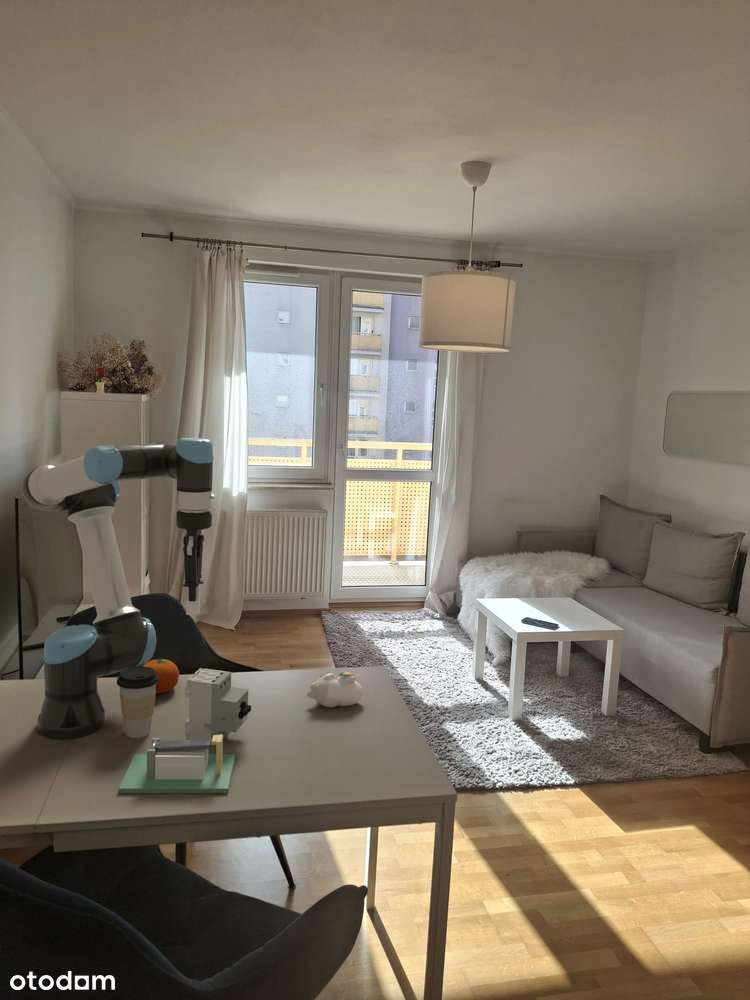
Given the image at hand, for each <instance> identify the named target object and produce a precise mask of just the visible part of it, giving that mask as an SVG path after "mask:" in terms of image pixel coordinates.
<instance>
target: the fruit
mask: <svg viewBox="0 0 750 1000" xmlns="http://www.w3.org/2000/svg"><path fill="white" fill-rule="evenodd" d="M142 666H144V667H150V668H152V669H154V670H155V673H156V674H157V675H158V679H159V680H158V682H157V683H156V687H155V690H156V693H155V694H164V693H167V692H169V691H171V690H173V689H174V688H175V687H176V686H177V684H178V682H179V678H180V670H179V668H178V666H177V665H176V664H175V663H174V662H173V661H171V660H169V659H166V658H165V659H164V658H161V659H160V658H159V659H152V660H149V661H148V662H147V663H145V664H142Z"/></svg>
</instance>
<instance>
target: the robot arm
mask: <svg viewBox="0 0 750 1000" xmlns="http://www.w3.org/2000/svg"><path fill="white" fill-rule="evenodd" d="M213 453H214V452H213V443H212V440H210V439H208V438H204V437H203V438H202V437H201V438H200V437H181V438H179V439H178V440H177V443H176V444H173V443H168V442H166V441H162V442H160V441H158V442H157V441H155V442H151V443H148V444H145V443H144V444H130V445H129V444H128V445H127V444H122V445H117V444H116V445H110V444H104V445H98V446H92V447H89V448H88V449H87V451H86V453H85V454H84V455H82V456H79V457H77V458H75V459H70V460H68V461H65V462H63V463H60V464H57V465H56V464H55V465H47V464H46V465H42V466H38V467H36V468H33V469H30V471H28V472H27V474H25V475H24V477H23V479H22V481H21V485H20V488H21V494H22V496H23V498H24V500H25V501H26V503H28V504H29V505H30V506H32V507H33V508H34V509H37V510H40V511H43V512H66V514H67V519H68V521H69V522H72V523H74V524H75V525H76V530H77V534H78V535H77V536H78V538H79V539H78V540H79V543H80V547H81V552H82V555H83V559H84V563H85V567H86V573H87V576H88V580H89V585H90V589H91V593H92V598H93V602H94V606H95V610H96V618H95V619H94V620H93V621H92V625H90V624H78V625H76V624H72V625H67V626H64V627H62V628H59V629H56V630H55V631H53V632H52V633H51V634H50V635H48V636H47V638H46V639H45V641H44V646H43V647H44V648H43V653H42V654H43V655H42V659H43V667H44V669H43V670H44V672H43V675H44V699H43V702H42V705H41V710H40V713H39V714H38V717H37V722H36V723H37V731H38V733H39V734H41V736H44V737H46V738H51V739H57V740H59V739H60V740H62V739H63V740H64V739H67V740H68V739H74V738H75V739H76V738H81V737H84V736H87V735H91V734H93V733H95V732H97V731H98V730H100V729H101V728H103V726H104V725H105V723H106V711H105V707H104V706H103V702H102V700H101V698H100V697H101V696H100V694H99V691H98V679H99V678H101V677H104V676H109V675H111V674H115V673H119V672H120V673H121V672H122V671H123V670H125V669H127V668H131V667H138V666H143V665H144V664H145V663H147V662H149V661H151V658H153V656H154V653H155V651H156V647H157V646H156V645H157V635H156V634H157V633H156V630H155V626H154V624H153V623H152V622H151V620H150V619H149V618H148V617H147V618H146V617H142V613H141V610H140V609H138V608H136V607H135V606H134V605H133V603H132V599H131V596H130V594H131V593H130V591H129V586H128V584H127V583H128V581H127V578H126V574H125V569H124V567H123V562H122V557H121V554H120V550H119V546H118V541H117V537H116V533H115V529H114V525H113V521H112V515H113V514H114V512H115V511H116V508H115V505H117V504H118V502H119V500H120V492H121V487H120V483H119V482H121V481H122V482H123V481H132V480H133V481H134V480H148V479H162V478H169V479H173V480H174V479H175V480H176V493H175V495H176V496H175V497H176V499H175V501H176V502H175V507H176V509H178V510H177V511H176V514H175V515H176V517H175V518H176V521H175V522H176V527H177V528H179V529H181V530H185V531H186V533H185V536H183V540H182V541H183V547H182V551H183V558H184V559H183V560H184V563H183V564H184V583H183V584H182V587H183V588H185V587H186V599H185V600H186V601H185V602H186V604H185V605H186V608H185V609H186V612H185V614H186V616H188V615H190V616H199V615H200V611H201V610H200V609H201V605H200V604H201V585H203V584H204V580H203V579H202V577H203V576H202V572H203V571H202V570H203V551H204V541H205V534H202V531H203V530H208V529H210V528H211V527H212V525H213V524H212V523H213V511H211V508H212V505H213V501H212V500H215V499H216V496H215V495H214V494H212V493H213V491H212V490H213V474H214V473H213V470H214V467H213V466H214V456H213V455H214V454H213ZM201 579H202V580H201Z"/></svg>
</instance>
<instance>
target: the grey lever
mask: <svg viewBox="0 0 750 1000" xmlns="http://www.w3.org/2000/svg"><path fill="white" fill-rule="evenodd" d="M211 743H212V739H194V740H185V739H180V740H176V739H175V740H160V741H156V740H154V741H153V742H152V741H151V745H150V747H149V749H156V750H155V751H172V750H190V749H208V750H209V749H211V747H212V744H211Z"/></svg>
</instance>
